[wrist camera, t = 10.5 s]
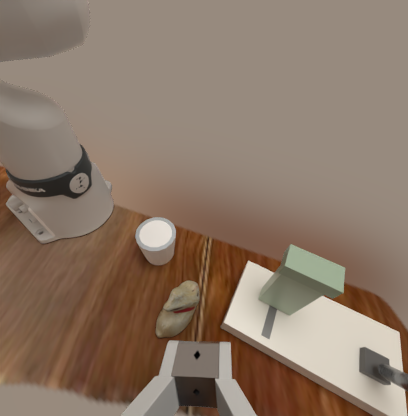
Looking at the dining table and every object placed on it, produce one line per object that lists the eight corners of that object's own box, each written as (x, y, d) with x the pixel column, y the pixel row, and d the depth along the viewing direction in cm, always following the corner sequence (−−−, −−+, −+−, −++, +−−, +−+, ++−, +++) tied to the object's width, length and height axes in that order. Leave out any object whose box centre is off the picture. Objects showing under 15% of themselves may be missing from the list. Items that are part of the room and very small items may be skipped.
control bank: (220, 327, 34) (224, 320, 30) (243, 269, 40) (249, 257, 36) (383, 421, 28) (416, 428, 24) (380, 336, 35) (405, 330, 31)
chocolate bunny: (206, 322, 34) (212, 306, 26) (158, 343, 32) (149, 331, 24) (194, 290, 37) (197, 266, 30) (150, 306, 35) (140, 286, 27)
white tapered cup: (157, 231, 44) (153, 210, 39) (184, 247, 42) (183, 228, 37) (134, 256, 40) (126, 237, 35) (162, 275, 39) (158, 258, 33)
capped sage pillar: (254, 300, 33) (284, 265, 23) (259, 283, 34) (290, 244, 24) (292, 320, 31) (343, 292, 21) (296, 301, 33) (345, 267, 23)
